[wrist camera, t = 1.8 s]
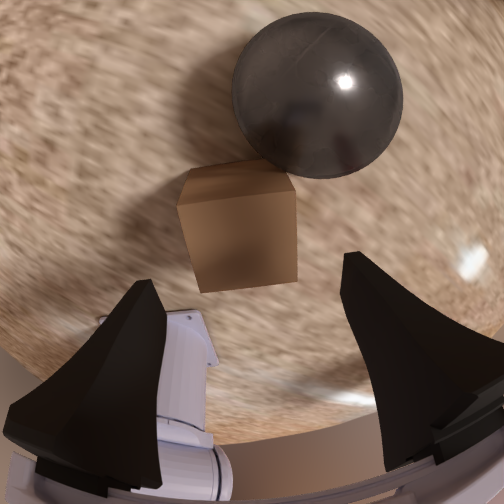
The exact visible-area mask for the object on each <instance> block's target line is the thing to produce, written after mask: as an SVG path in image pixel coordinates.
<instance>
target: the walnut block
mask: <svg viewBox="0 0 504 504" xmlns="http://www.w3.org/2000/svg"><path fill="white" fill-rule="evenodd" d="M176 207H177V211H178V215H179V219H180V223H181V227H182V230H183V234H184V238H185V242H186V245H187V249H188V252H189V256H190V259H191V263H192V266H193V270H194V273H195V277H196V280H197V283H198V287H199V290H200V293H209V292H218V291H227V290H235V289H244V288H252V287H260V286H268V285H276V284H283V283H291V282H297V217H296V190H295V188H294V186H293V185H292V183H291V181H290V179H289V177H288V175H287V173H286V171H284V170H282V169H280V168H278V167H276V166H274V165H273V164H271V163H270V162H268V161H267V160H266V159H257V160H248V161H240V162H232V163H225V164H218V165H211V166H205V167H199V168H193V169H191V170H190V172H189V174H188V177H187V179H186V182H185V184H184V187H183V190H182V192H181V195H180V197H179V200H178V203H177V205H176Z"/></svg>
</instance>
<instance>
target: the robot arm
mask: <svg viewBox="0 0 504 504" xmlns="http://www.w3.org/2000/svg"><path fill="white" fill-rule="evenodd" d="M340 296H341V300H342V303H343V307H344V310H345V314H346V317H347V319H348V322H349V324H350V327H351V329H352V331H353V334H354V336H355V339H356V341H357V343H358V346H359V348H360V351H361V353H362V356H363V358H364V361H365V363H366V366H367V369H368V372H369V376H370V380H371V384H372V388H373V392H374V396H375V401H376V406H377V411H378V416H379V423H380V429H381V436H382V445H383V456H384V465H385V470H386V472H389V473H386V474H383V475H380V476H377V477H374V478H371V479H368V480H364V481H361V482H358V483H354V484H350V485H346V486H342V487H338V488H333V489H329V490H325V491H319V492H314V493H309V494H302V495H296V496H289V497H281V498H271V499H259V500H242V501H241V500H240V501H229V500H230V497H231V493H232V486H233V476H232V469H231V465H230V462H229V459H228V458H227V456H226V455H225V453H224V451H223V450H222V449H221V447H219V446H218V445H215V444H213V434H212V433H207V432H205V403H206V367H215V366H218V365H219V360H218V357H217V355H216V352H215V350H214V347H213V344H212V342H211V339H210V337H209V334H208V331H207V329H206V326H205V323H204V320H203V318H202V315H201V313H200V312H199V311H197V310H188V311H177V312H165V309H164V307H163V305H162V303H161V301H160V299H159V296H158V294H157V292H156V290H155V287H154V285H153V283H152V280H151V279H146V280H138V281H136V282H135V283H134V284H133V285H132V287H131V288H130V289H129V290H128V291H127V293H126V294H125V295H124V296H123V298H122V299H121V300H120V301H119V303H118V304H117V305H116V307H115V308H114V309H113V310H112V312H111V313H110V314H109V315H108V317H101V318H100V320H99V323H100V326H99V328H98V329H97V330H96V331H95V332H94V334H93V335H92V336H91V337H90V338H89V340H88V341H87V342H86V343H85V344H84V345H83V346H82V347H81V348H80V349H79V350H78V351H77V352H76V353H75V355H74V356H73V357H72V358H71V359H70V360H69V361H67V362H66V363H65V364H64V365H63V366H62V367H61V368H60V369H59V370H58V371H56V372H55V373H54V374H53V375H52V376H51V377H50V378H48V379H47V380H46V381H45V382H43V383H42V384H41V385H40V386H38V387H37V388H36V389H34V390H33V391H31V392H30V393H29V394H27V395H26V396H24V397H22V398H21V399H19V400H18V401H16V402H15V403H13V404H11V405H10V407H9V411H8V414H7V418H6V421H5V425H4V429H3V434H4V436H5V437H6V438H8V439H9V440H10V441H12V442H13V443H15V444H17V445H18V446H20V447H22V448H23V449H25V450H27V451H29V452H30V453H32V454H34V455H36V456H38V457H37V462H36V461H34V460H32V459H29V458H27V457H25V456H23V455H21V454H19V453H16V452H15V451H13V452H12V456H11V461H10V466H9V472H8V478H7V486H6V494H5V500H6V502H8V503H9V504H348V503H351V502H355V501H359V500H362V499H365V498H369V497H372V496H375V495H378V494H381V493H384V492H387V491H390V490H393V489H395V488H398V487H399V488H398V489H397V490H396V492H395V494H394V495H393V496H390V497H387V498H383V499H380V500H377V501H374V502H371V503H368V504H486V503H488V501H490V500H491V499H492V498H493V497H494V496H495V495H497V494H498V493H499V492H500V491H501V490H502V489H503V488H504V409H503V407H502V406H503V405H504V396H503V394H504V343H502V342H499V341H496V340H494V339H491V338H489V337H486V336H484V335H482V334H480V333H477V332H475V331H473V330H471V329H469V328H467V327H465V326H463V325H461V324H459V323H458V322H456V321H454V320H452V319H450V318H449V317H447V316H445V315H443V314H442V313H440V312H439V311H437V310H436V309H434V308H432V307H431V306H429V305H428V304H426V303H425V302H423V301H422V300H421V299H419V298H418V297H416V296H415V295H414V294H412V293H411V292H410V291H408V290H407V289H406V288H404V287H403V286H402V285H401V284H399V283H398V282H397V281H395V280H394V279H393V278H392V277H391V276H389V275H388V274H387V273H386V272H384V271H383V270H382V269H381V268H380V267H378V266H377V265H376V264H375V263H374V262H372V261H371V260H370V259H369V258H367V257H366V256H365V255H364V254H362V253H361V252H360V251H357V252H350V253H344V261H343V270H342V280H341V288H340ZM413 462H414V463H413ZM411 463H413V464H411ZM409 464H410V465H409ZM406 465H408V466H406ZM403 466H405V467H403ZM400 467H403V468H400ZM398 468H400V469H398ZM395 469H397V470H395ZM393 470H395V471H393ZM390 471H392V472H390Z"/></svg>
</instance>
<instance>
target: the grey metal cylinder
mask: <svg viewBox="0 0 504 504" xmlns="http://www.w3.org/2000/svg"><path fill="white" fill-rule="evenodd" d="M232 102H233V107H234V112H235V116H236V118H237V121H238V124H239V126H240V128H241V130H242V132H243V134H244V136H245V137H246V139H247V140H248V141H249V143H250V144H251V146H252V147H253V148H254V149H255V150H256V151H257V152H258V153H259V154H260V155H261V156H262V157H263V158H265V159H266V160H267V161H268V162H270V163H271V164H273V165H274V166H276V167H278V168H280V169H282V170H284V171H286V172H288V173H291V174H294V175H297V176H301V177H306V178H313V179H330V178H337V177H342V176H345V175H349V174H351V173H354V172H356V171H359V170H360V169H362V168H364V167H366V166H367V165H369V164H370V163H371V162H373V161H374V160H375V159H376V158H377V157H379V156H380V155H381V154H382V153H383V151H384V150H385V149H386V148H387V147H388V145H389V144H390V142H391V140H392V139H393V137H394V135H395V133H396V131H397V129H398V126H399V123H400V120H401V115H402V109H403V90H402V84H401V79H400V76H399V73H398V70H397V67H396V65H395V63H394V61H393V59H392V57H391V56H390V54H389V52H388V51H387V49H386V48H385V47H384V46H383V45H382V43H381V42H380V41H379V40H378V39H377V38H376V37H375V36H374V35H373V34H372V33H370V32H369V31H368V30H366V29H365V28H363V27H362V26H360V25H359V24H357V23H355V22H353V21H351V20H349V19H346V18H343V17H341V16H337V15H333V14H329V13H320V12H305V13H298V14H293V15H289V16H286V17H283V18H281V19H278V20H276V21H274V22H272V23H270V24H269V25H267V26H266V27H264V28H263V29H262V30H260V31H259V32H258V33H257V34H256V35H255V36H254V37H253V38H252V39H251V40H250V42H249V43H248V44H247V45H246V47H245V48H244V50H243V52H242V53H241V55H240V57H239V59H238V62H237V65H236V67H235V71H234V75H233V80H232Z"/></svg>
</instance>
